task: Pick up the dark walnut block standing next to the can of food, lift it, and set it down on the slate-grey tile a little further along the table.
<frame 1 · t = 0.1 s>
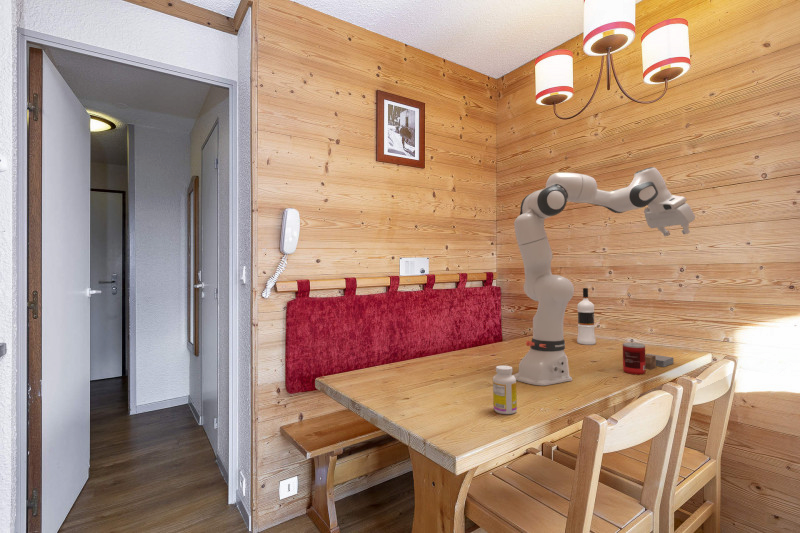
hand: (676, 234, 160), 54 cm above the table, tool tilted 30°, fingers open, 8 cm apart
vodka: (586, 343, 214), on the table
walnut block: (646, 367, 163), on the table
canned food: (634, 372, 156), on the table
slate tile: (655, 363, 170), on the table
supplement bottle: (505, 411, 117), on the table
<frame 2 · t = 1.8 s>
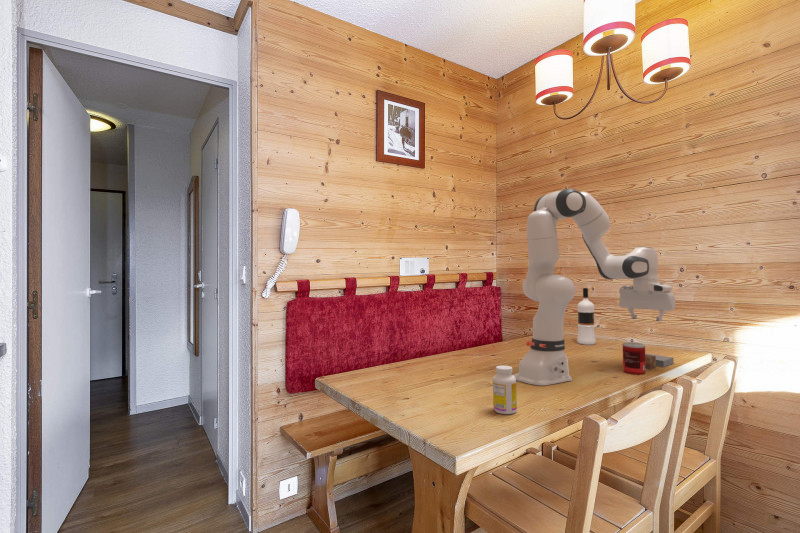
hand: (646, 320, 163), 19 cm above the table, tool pointing down, fingers open, 8 cm apart
nothing on the table moved.
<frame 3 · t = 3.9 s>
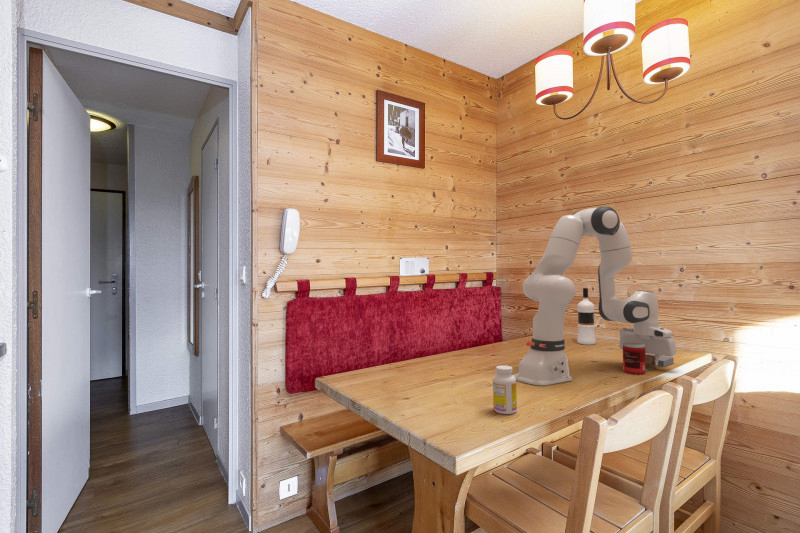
hand: (646, 363, 163), 2 cm above the table, tool pointing down, fingers closed on walnut block, 5 cm apart
walnut block: (646, 367, 163), on the table, touching gripper
everything else where it was.
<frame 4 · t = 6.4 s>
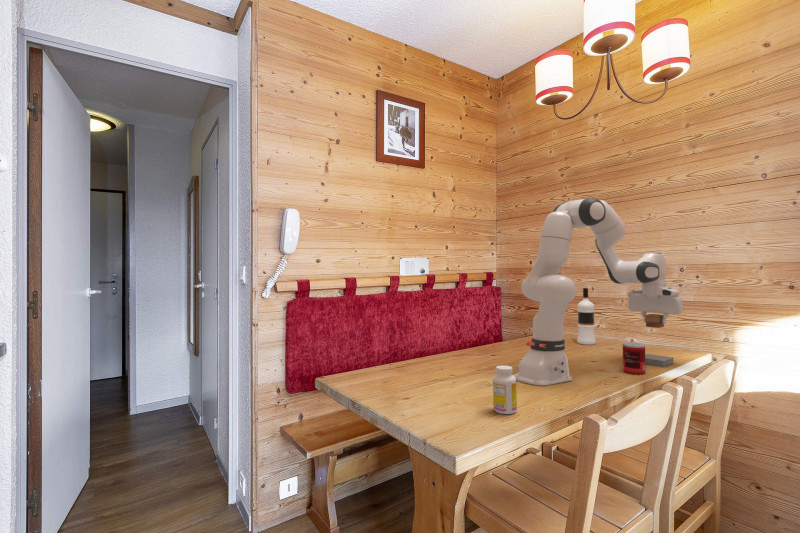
hand: (654, 322, 170), 17 cm above the table, tool pointing down, fingers closed on walnut block, 5 cm apart
walnut block: (654, 326, 170), point 16 cm above the table, touching gripper
everything else where it was.
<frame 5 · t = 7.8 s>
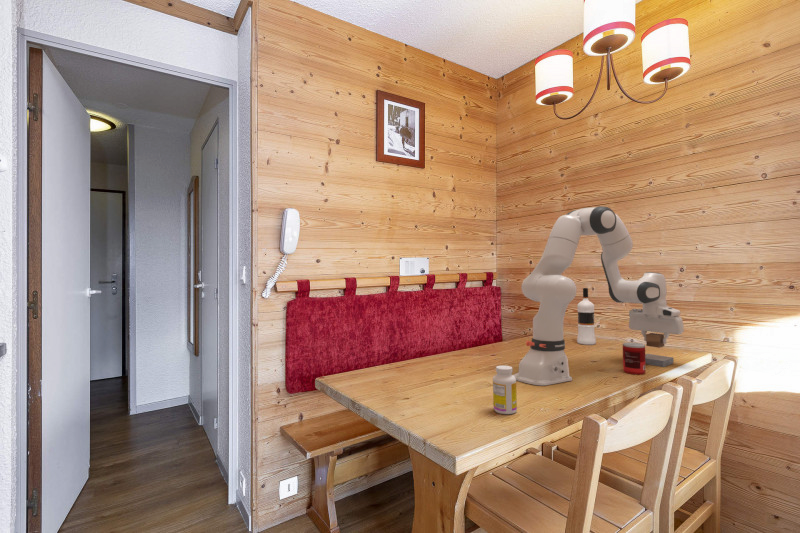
hand: (655, 342, 170), 9 cm above the table, tool pointing down, fingers closed on walnut block, 5 cm apart
walnut block: (655, 346, 170), point 7 cm above the table, touching gripper
everything else where it was.
when the fingers open (6 cm above the table, at t = 8.9 s): walnut block drops 1 cm, resting on slate tile.
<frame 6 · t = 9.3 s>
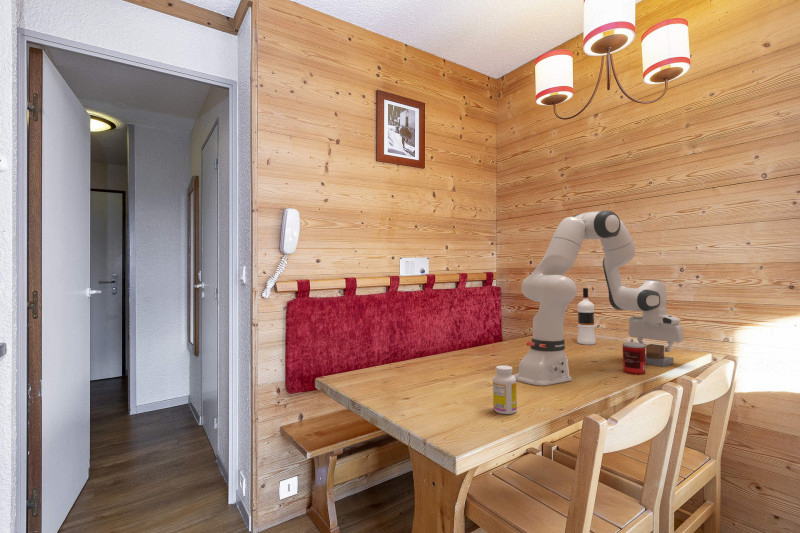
hand: (655, 350, 170), 6 cm above the table, tool pointing down, fingers open, 8 cm apart
walnut block: (655, 357, 170), point 2 cm above the table, touching slate tile
everything else where it was.
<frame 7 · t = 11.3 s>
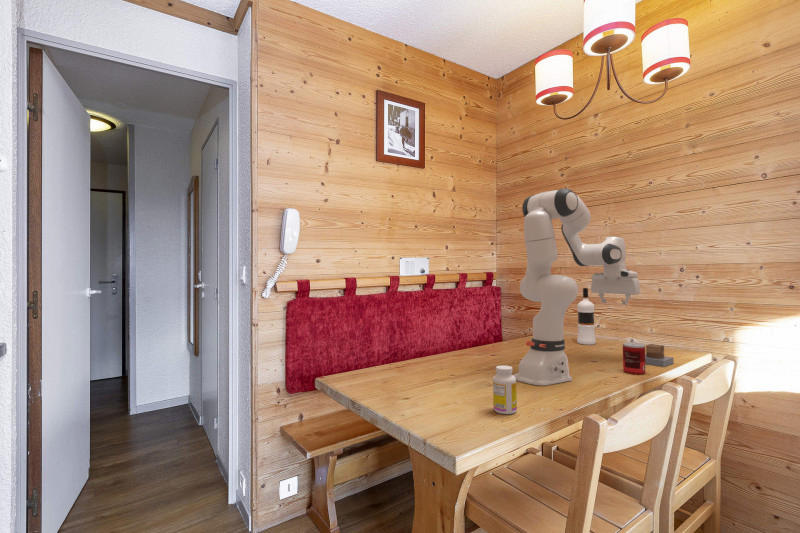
hand: (614, 303, 177), 25 cm above the table, tool pointing down, fingers open, 8 cm apart
nothing on the table moved.
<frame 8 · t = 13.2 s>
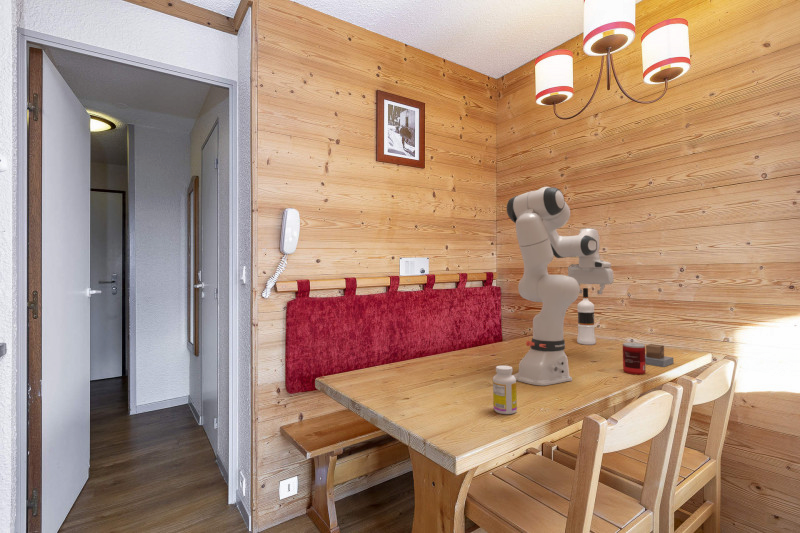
hand: (589, 293, 183), 29 cm above the table, tool pointing down, fingers open, 8 cm apart
nothing on the table moved.
at the end: walnut block inside the target area on the slate tile (0.0 cm from its centre), point 2.5 cm above the slate tile's base; walnut block tilted 0°; the gripper is holding nothing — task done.
